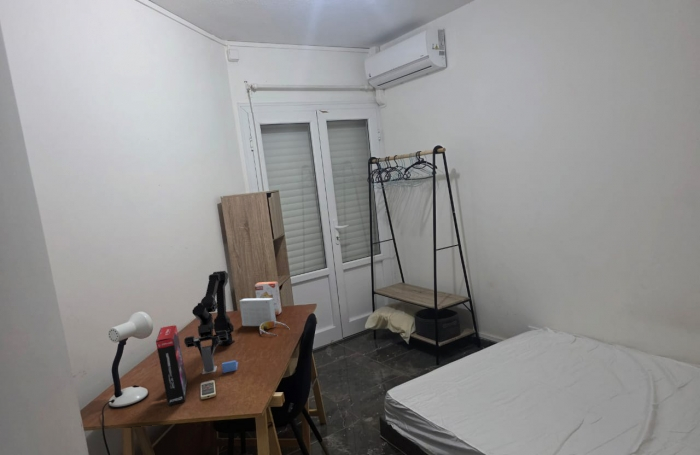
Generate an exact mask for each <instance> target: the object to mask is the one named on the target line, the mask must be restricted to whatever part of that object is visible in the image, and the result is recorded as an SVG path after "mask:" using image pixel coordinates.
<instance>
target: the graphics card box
mask: <svg viewBox="0 0 700 455" xmlns="http://www.w3.org/2000/svg"><path fill="white" fill-rule="evenodd" d="M155 343H156V344H155V345H156V348H157V354H158V361H159V364H160V371H161V376H162V380H163V384H164V389H165V395H166V401H167V405H168V406H169V407H170V406H173V405H178V404H181V403H184V402H186V396H187V387H188V386H187V384H188V380H187V375H186V370H185V364H184V359H183V353H182V348H181V343H180V338H179V332H178V327H177V325H176V324H175V325H174V324H173V325H168V326H163V327H160V329H159V332H158V335H157V338H156V340H155Z"/></svg>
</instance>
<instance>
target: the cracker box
mask: <svg viewBox="0 0 700 455" xmlns="http://www.w3.org/2000/svg"><path fill="white" fill-rule="evenodd" d="M279 289H280V288H279V282H278V281H263V282H262V281H261V282H257V283H255V284H254V290H255V298H273V301H274V309H275V316H277V315H280V314H281V313H282V304H281V296H280V295H281V294H280V290H279Z"/></svg>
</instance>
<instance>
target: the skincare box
mask: <svg viewBox="0 0 700 455" xmlns="http://www.w3.org/2000/svg"><path fill="white" fill-rule="evenodd" d="M238 302H239V307H240V308H239V309H240V316H241V324H242V327H260V325H261V324H262V323H263V322H265V321H276V322H277V318H276V315H275V309H274V301H273V298H256V297H254V298H253V297H252V298H242V299H240V300H239V301H238ZM276 324H277V323H275V325H276Z"/></svg>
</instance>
